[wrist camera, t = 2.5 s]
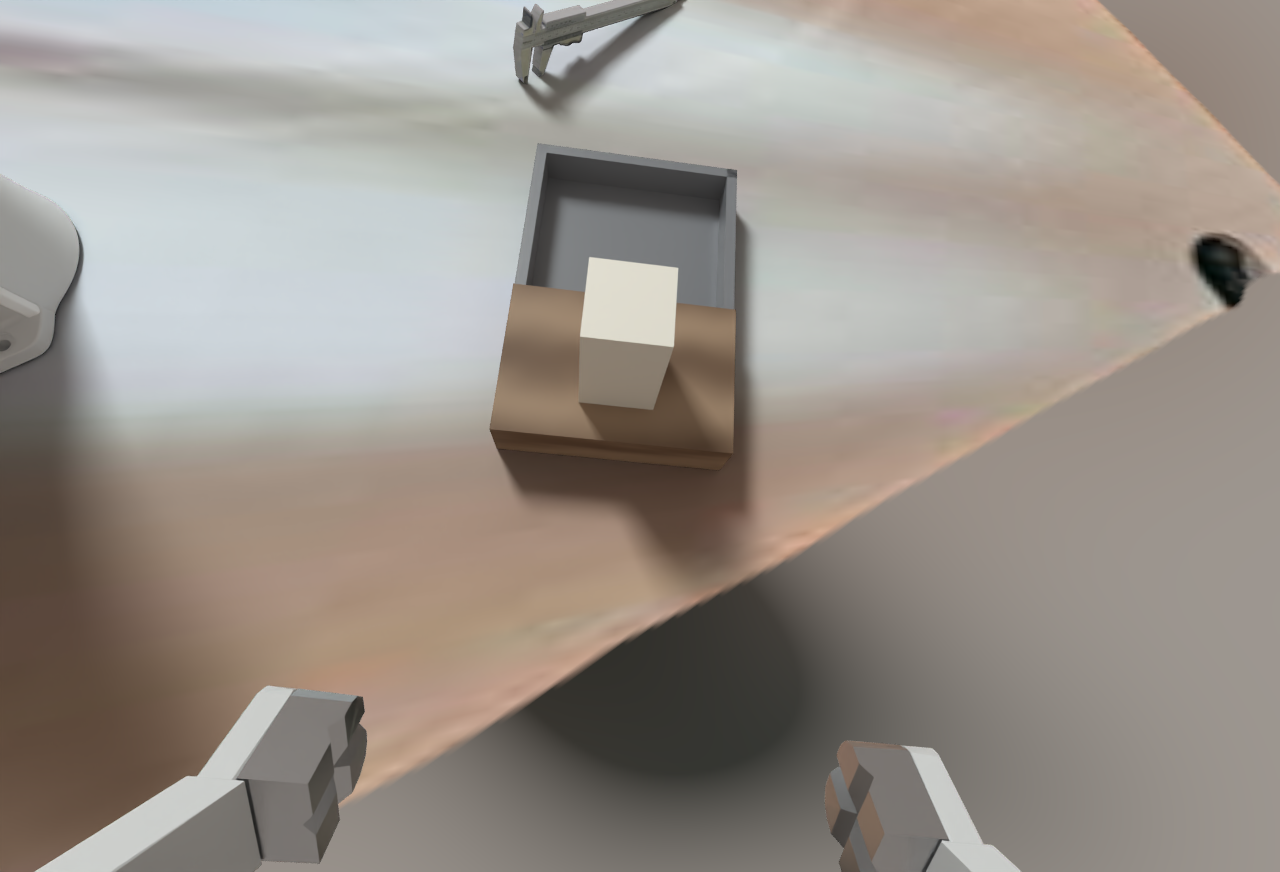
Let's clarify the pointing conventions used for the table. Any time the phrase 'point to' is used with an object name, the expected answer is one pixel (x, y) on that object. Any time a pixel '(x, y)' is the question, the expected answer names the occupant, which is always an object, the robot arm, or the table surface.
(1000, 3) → the table surface
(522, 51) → the caliper
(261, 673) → the table surface
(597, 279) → the block
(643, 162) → the bin
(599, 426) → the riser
